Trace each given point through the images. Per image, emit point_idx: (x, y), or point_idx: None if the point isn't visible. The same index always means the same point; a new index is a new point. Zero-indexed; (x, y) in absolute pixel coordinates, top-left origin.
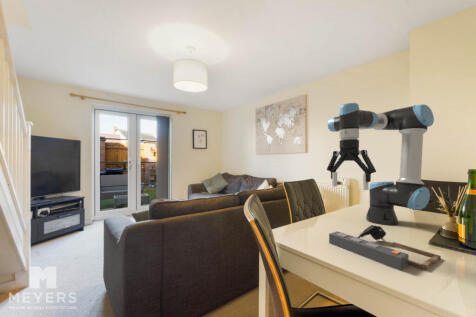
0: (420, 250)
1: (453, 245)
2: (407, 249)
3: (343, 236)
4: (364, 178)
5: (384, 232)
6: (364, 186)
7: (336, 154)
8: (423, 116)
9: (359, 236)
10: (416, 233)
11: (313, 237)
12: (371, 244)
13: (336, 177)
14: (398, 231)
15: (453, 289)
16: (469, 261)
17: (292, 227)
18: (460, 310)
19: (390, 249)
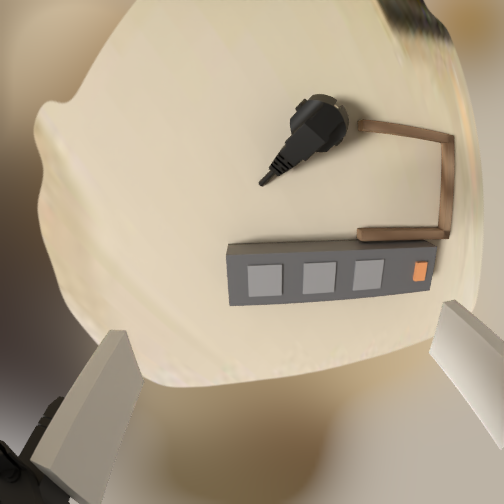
0: (424, 133)
1: (415, 3)
2: (396, 134)
3: (278, 291)
4: (488, 416)
5: (347, 121)
6: (452, 369)
7: None
8: None
9: (273, 174)
10: None
11: (171, 295)
12: (366, 274)
13: (91, 419)
14: None
15: (469, 264)
16: (467, 93)
17: (73, 281)
18: None
19: (406, 257)
